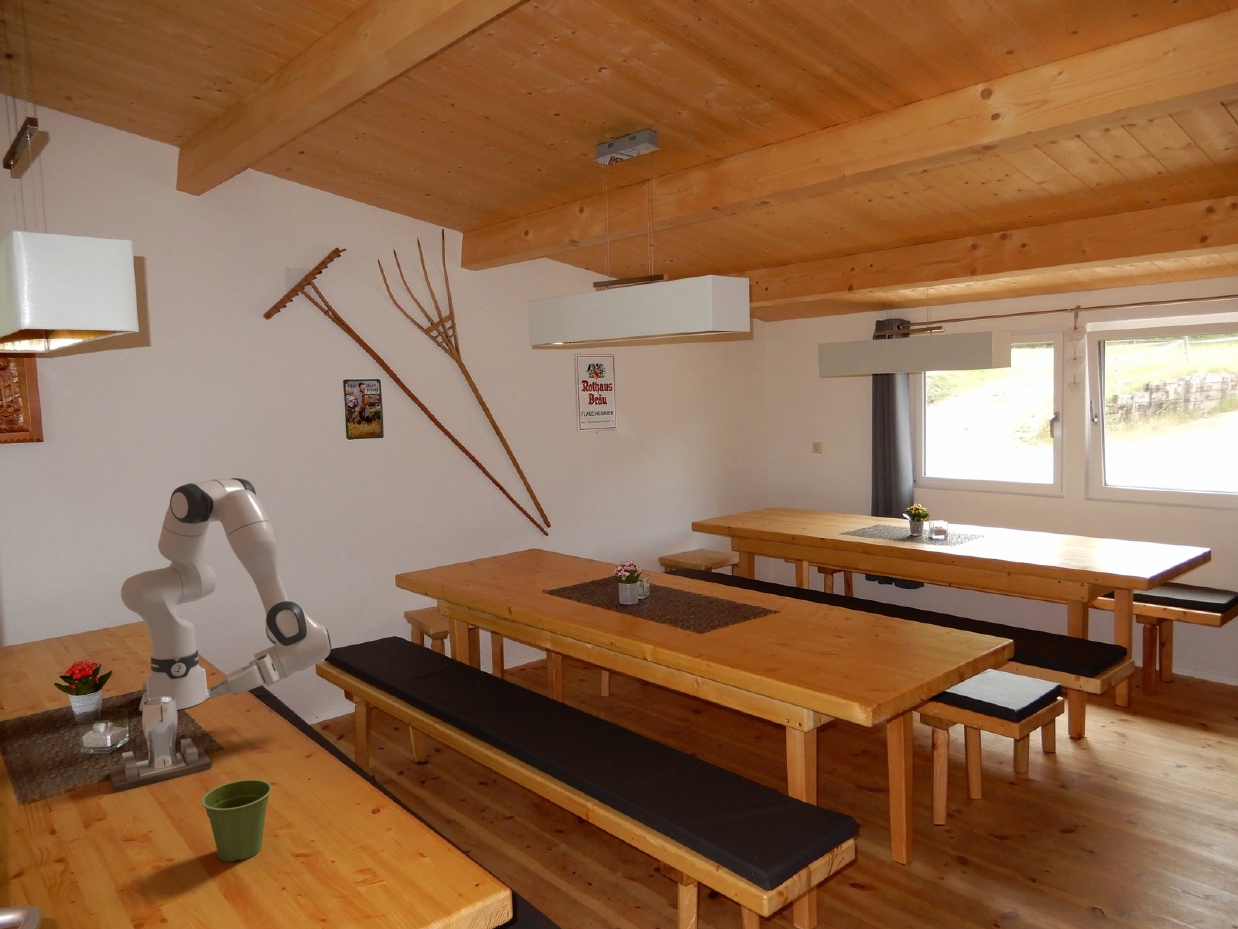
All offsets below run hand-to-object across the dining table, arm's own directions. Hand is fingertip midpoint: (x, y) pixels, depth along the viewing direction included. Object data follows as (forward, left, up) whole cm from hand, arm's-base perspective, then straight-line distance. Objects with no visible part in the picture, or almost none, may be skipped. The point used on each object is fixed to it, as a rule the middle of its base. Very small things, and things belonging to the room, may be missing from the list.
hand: (209, 694), depth 200 cm
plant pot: (+57, -6, -14) cm, 59 cm away
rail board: (+7, -12, -14) cm, 19 cm away
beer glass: (+8, -12, -12) cm, 19 cm away
